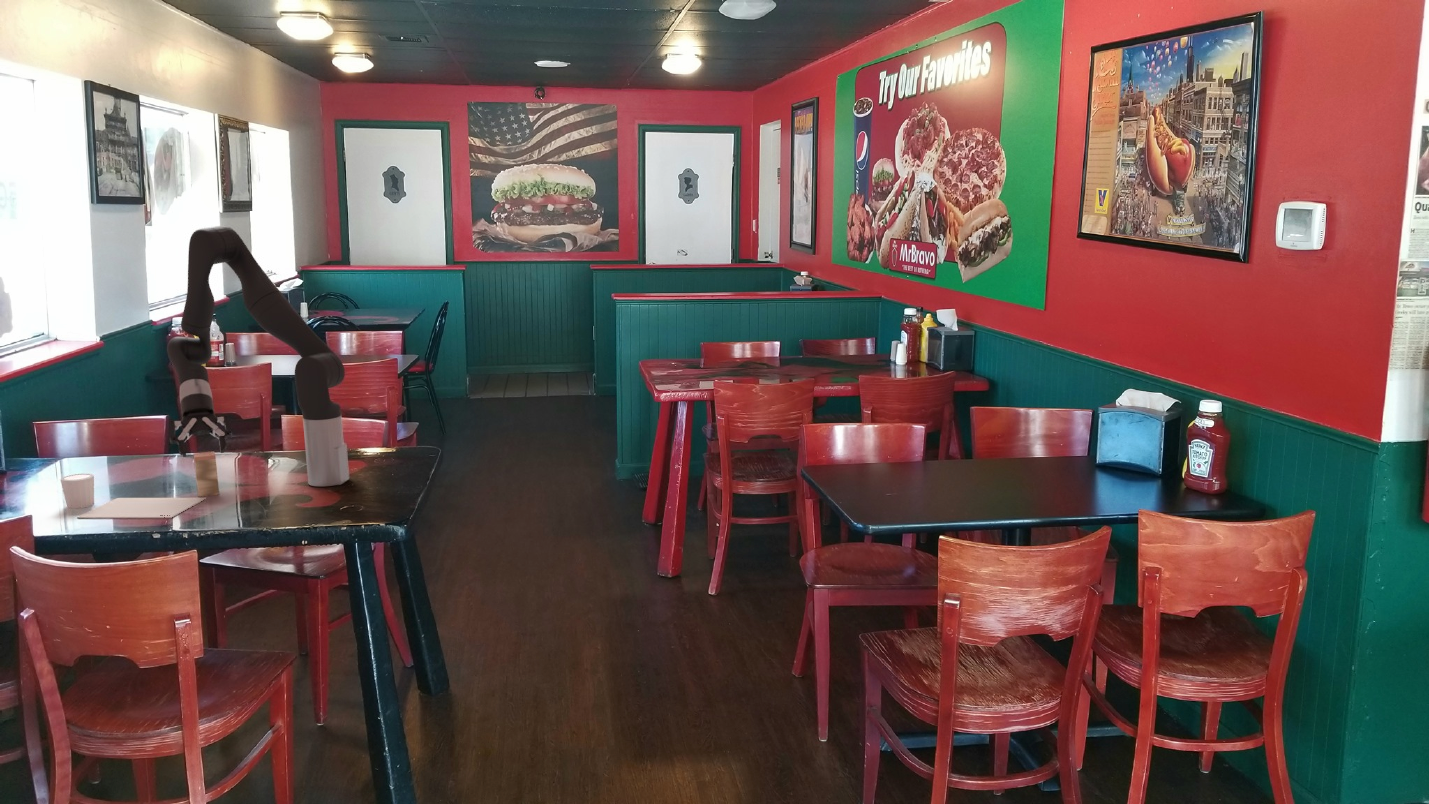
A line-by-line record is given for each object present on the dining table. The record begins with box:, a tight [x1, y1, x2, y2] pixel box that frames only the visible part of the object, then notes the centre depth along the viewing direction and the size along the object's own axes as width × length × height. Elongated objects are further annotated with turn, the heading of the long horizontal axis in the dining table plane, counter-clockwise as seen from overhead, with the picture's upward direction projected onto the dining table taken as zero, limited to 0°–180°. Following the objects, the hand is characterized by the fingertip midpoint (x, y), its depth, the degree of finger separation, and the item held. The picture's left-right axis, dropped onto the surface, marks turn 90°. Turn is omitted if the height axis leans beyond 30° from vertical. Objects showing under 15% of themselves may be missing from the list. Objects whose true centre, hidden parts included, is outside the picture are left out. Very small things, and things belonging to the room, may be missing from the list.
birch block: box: [193, 451, 220, 498], centre depth 262 cm, size 5×5×10 cm
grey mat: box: [76, 497, 207, 520], centre depth 250 cm, size 22×16×1 cm
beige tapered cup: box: [59, 473, 95, 509], centre depth 253 cm, size 7×7×7 cm
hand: (203, 453), depth 265 cm, fingers open, 8 cm apart
